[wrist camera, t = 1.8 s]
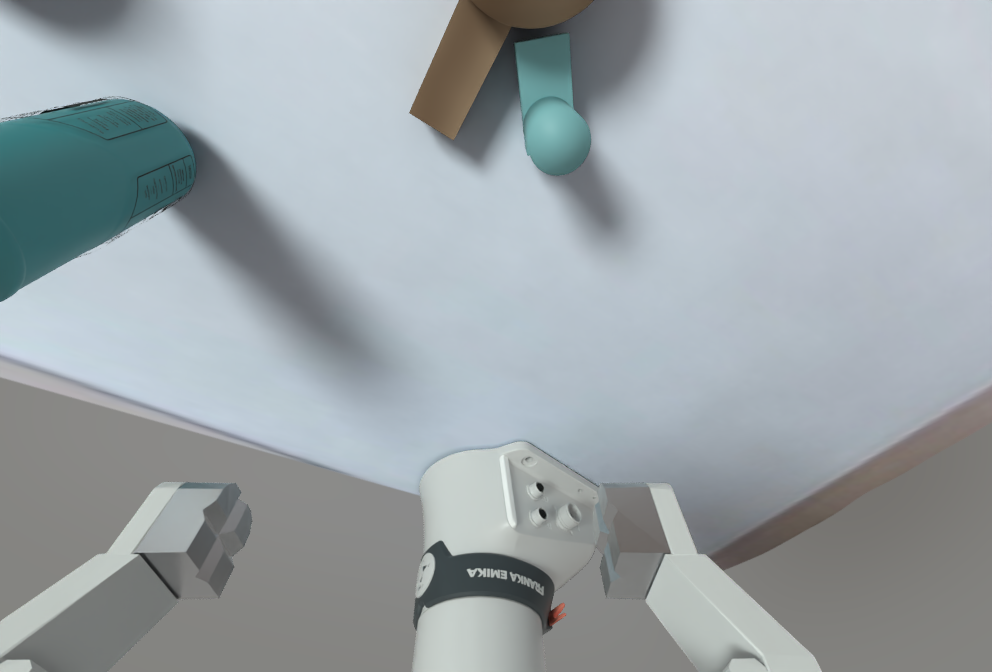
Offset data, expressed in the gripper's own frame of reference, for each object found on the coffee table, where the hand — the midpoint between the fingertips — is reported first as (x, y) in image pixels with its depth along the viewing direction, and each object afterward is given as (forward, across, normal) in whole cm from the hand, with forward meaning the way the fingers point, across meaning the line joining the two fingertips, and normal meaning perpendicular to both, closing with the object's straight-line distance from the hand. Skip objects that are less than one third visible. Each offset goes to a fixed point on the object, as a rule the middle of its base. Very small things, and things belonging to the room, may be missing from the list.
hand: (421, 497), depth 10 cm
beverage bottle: (+26, +21, -2) cm, 33 cm away
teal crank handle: (+25, -5, -5) cm, 26 cm away
